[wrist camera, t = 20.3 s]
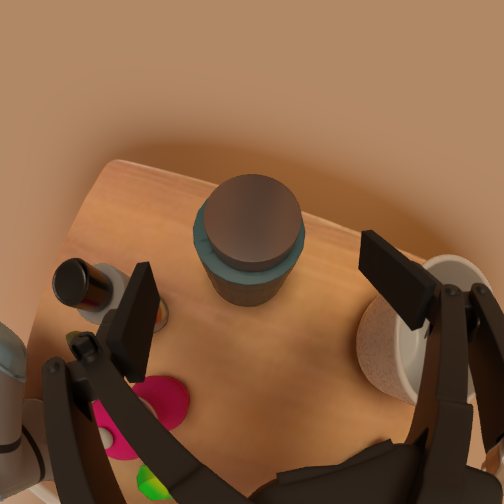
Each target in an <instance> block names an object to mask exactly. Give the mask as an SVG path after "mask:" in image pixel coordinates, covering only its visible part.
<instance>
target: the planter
mask: <svg viewBox="0 0 504 504" xmlns="http://www.w3.org/2000/svg"><path fill="white" fill-rule="evenodd" d="M421 266H423V267H424V268H425V270H427V271H428V272H430V274H432V275H433V276H434V277H435V278H437V279H438V280H439V281H440V282H441V283H442V284H443V285H444V284H453V285H456V286H457V287H459V288H460V289H461V290H462V292H463V291H470V289H471V286H472V284H474V283H483V284H485V285H486V286H487V287H488V288H489V289H490V290H491V292H492V294H493V295H494V293H493V291H492V289H491V287H490V285H489V283H488V281H487V279H486V278H485V276H484V275H483V274H482V272H481V271H480V270H479V269H478V268H477V267H476V266H475V265H474V264H472V263H471V262H470V261H468V260H466V259H464V258H462V257H459V256H456V255H440V256H436V257H434V258H432V259H430V260H428V261H426V262H425V263H423V264H422V265H421ZM429 323H430V322H429V321H428V320H427V319H425V322H424V325H423V327H422V328H420V329H417V330H414V331H411V330H410V328H409V327H408V326H407V325H406V324H405V322H404V321H403V320H402V319H401V317H400V316H399V315H398V314H397V313H396V311H395V310H394V309H393V308H392V307H391V306H390V304H389V303H388V302H387V301H386V300H385V299H384V297H383V296H382V295H381V294H379V295H378V296H377V297H376V298H375V299H374V300H373V301H372V302H371V303H370V305H369V306H368V307H367V309H366V311H365V312H364V314H363V316H362V318H361V321H360V324H359V327H358V331H357V337H356V352H357V358H358V361H359V365H360V367H361V369H362V371H363V373H364V375H365V376H366V378H367V379H368V380H369V381H370V383H371V384H372V385H374V386H375V387H376V388H377V389H378V390H380V391H382V392H383V393H385V394H387V395H390V396H392V397H394V398H396V399H399V400H401V401H403V402H406V403H408V404H410V405H413V406H415V407H416V403H417V398H418V393H419V388H420V383H421V377H422V371H423V364H424V357H425V349H426V340H427V336H426V339H424V336H425V334H426V331H427V328H428V326H429ZM479 324H480V321H479ZM475 396H476V395H475V390H474V385H473V381H472V376H471V372H470V368H469V364H468V396H467V403H469V402H470V401H471V400H472V399H473V398H474V397H475Z"/></svg>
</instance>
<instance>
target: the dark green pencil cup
mask: <svg viewBox="0 0 504 504" xmlns="http://www.w3.org/2000/svg"><path fill="white" fill-rule="evenodd" d="M208 199H209V198H208ZM208 199H207V200H208ZM207 200H206V201H205V202H204V204H203V205H202V207H201V208H200V209H199V211H198V213H197V216H196V220H195V223H194V226H193V236H194V245H195V248H196V250H197V253H198V255H199V258H200V260H201V262H202V264H203V266H204V268H205V270H206V272H207V274H208V276H209V278H210V280H211V282H212V284H213V286H214V288H215V289H216V290H217V292H218V293H219V294H220V295H221V296H222V297H223V298H224V299H226V300H227V301H229V302H230V303H233V304H235V305H239V306H256V305H259V304H262V303H264V302H266V301H268V300H269V299H270V298H272V297H273V296H274V295H275V294H276V293H277V292H278V290H279V289H280V287H281V286H282V284H283V283H284V281H285V279H286V278H287V276H288V275H289V273H290V271H291V270H292V268H293V267H294V265H295V263H296V262H297V260H298V258H299V256H300V254H301V252H302V250H303V246H304V239H305V228H304V223H303V218H302V224H301V229H300V232H299V235H298V237H297V239H296V241H295V243H294V246H293V248H292V249H291V251H290V253H289V254H288V256H287V257H286V258H285V259H284V260H283V261H282V262H281V263H279V264H278V265H276V266H275V267H273V268H271V269H268V270H265V271H261V272H244V271H240V270H236V269H234V268H231V267H230V266H228V265H226V264H225V263H223V262H222V261H221V260H220V259H219V258H218V257H217V256H216V254H215V253H214V252H213V250H212V248H211V246H210V243H209V240H208V237H207V234H206V231H205V227H204V219H203V217H204V209H205V205H206V203H207Z"/></svg>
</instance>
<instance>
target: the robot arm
mask: <svg viewBox="0 0 504 504" xmlns="http://www.w3.org/2000/svg"><path fill="white" fill-rule="evenodd" d="M358 269H359V270H360V271H361V272H362V273H363V275H364V276H365V277H366V278H367V279H368V280H369V281H370V282H371V284H372V285H373V286H374V287H375V288H376V289H377V290H378V292H379V293H380V294H381V295H382V296H383V297H384V299H385V300H386V301H387V302H388V303H389V304H390V306H391V307H392V308H393V309H394V310H395V311H396V313H397V314H398V315H399V316H400V317H401V319H402V320H403V321H404V322H405V324H406V325H407V326H408V327H409V328H410V330H411V331H414V330H417V329H420V328H422V327H423V325H424V322H425V319H427V320H428V321H429V322H430V323H429V326H428V328H427V331H426V334H425V336H424V339H426V336H427V340H426V349H425V357H424V364H423V371H422V377H421V383H420V388H419V393H418V398H417V403H416V407H415V412H414V416H413V420H412V424H411V428H410V431H409V434H408V436H407V438H406V440H405V442H404V443H398V444H393V443H392V441H391V439H388V440H386V441H383V442H381V443H379V444H376V445H374V446H371V447H368V448H366V449H364V450H363V451H361V452H359V453H358V454H356V455H355V456H353V457H352V458H350V459H348V460H347V461H345V462H343V463H342V464H339V465H331V466H313V467H303V468H299V469H295V470H290V471H285V472H280V473H276V476H277V478H276V479H274V480H272V481H269V482H268V483H266V484H264V485H262V486H261V487H259V488H258V489H257V490H256V491H254V492H253V493H252V494H251V495H250V496H249V497H248V498H247V497H245V496H244V495H242V494H241V493H240V492H238V491H237V490H236V489H234V488H233V487H232V486H230V485H229V484H228V483H227V482H225V481H224V480H223V479H222V478H220V477H219V476H218V475H217V474H216V473H214V472H213V471H212V470H211V469H209V468H208V467H207V466H206V465H204V464H202V463H201V462H200V461H199V460H198V459H196V458H195V457H194V456H193V455H192V454H191V453H190V452H189V451H188V450H187V449H186V448H185V447H184V446H183V445H182V444H181V443H180V442H179V441H178V440H177V439H176V438H175V437H174V436H173V435H172V434H171V433H170V432H169V431H168V430H167V429H166V428H165V427H164V426H163V425H162V424H161V423H160V422H159V421H158V419H157V418H156V417H155V416H154V415H153V414H152V413H151V412H150V410H149V409H148V408H147V407H146V406H145V405H144V403H143V402H142V401H141V400H140V399H139V397H138V396H137V395H136V394H135V392H134V391H133V390H132V389H131V387H130V386H129V385H128V384H127V382H126V381H125V380H124V376H125V377H126V378H127V380H128V382H129V383H144V380H145V374H146V369H147V363H148V358H149V352H150V347H151V342H152V337H153V332H154V327H155V323H156V318H157V313H158V309H159V305H160V300H161V299H160V296H159V293H158V290H157V287H156V283H155V280H154V277H153V273H152V270H151V266H150V263H149V262H142V263H137V265H136V267H135V269H134V271H133V273H132V276H131V278H130V280H129V282H128V285H127V287H126V289H125V291H124V294H123V296H122V298H121V301H120V303H119V306H118V308H116V309H110V310H109V311H108V312H107V313H106V314H105V315H104V317H103V320H102V322H101V323H102V324H100V327H99V329H98V331H97V334H96V336H95V335H94V334H93V333H92V332H88V331H87V332H82V333H80V334H78V335H76V336H75V337H74V338H73V339H72V340H71V342H70V345H69V347H70V350H71V352H72V353H73V355H74V356H75V358H76V359H77V360H76V361H73V362H69V363H65V362H64V360H63V359H62V358H61V357H52V358H50V359H49V360H47V361H46V362H45V364H44V365H43V367H42V398H43V400H42V399H39V398H30V399H25V400H23V394H24V384H25V383H26V381H27V378H26V366H27V350H26V347H25V345H24V343H23V342H22V340H21V339H20V338H19V337H18V336H17V335H16V334H15V333H14V332H13V331H12V330H10V329H9V328H8V327H6V326H5V325H4V324H3V323H1V322H0V501H3V500H4V499H6V498H8V497H10V496H12V495H14V494H17V493H18V492H21V491H23V490H25V489H27V488H29V487H31V486H33V485H35V484H37V483H39V482H41V481H49V480H55V484H56V488H57V492H58V496H59V499H60V502H61V504H127V503H126V501H125V499H124V497H123V494H122V492H121V490H120V488H119V485H118V483H117V481H116V478H115V476H114V473H113V470H112V468H111V465H110V462H109V460H108V457H107V454H106V451H105V448H104V445H103V442H102V439H101V435H100V432H99V429H98V425H97V422H96V418H95V414H94V410H93V406H92V402H91V401H95V400H100V402H101V404H102V405H103V407H104V408H105V410H106V412H107V413H108V415H109V416H110V418H111V419H112V421H113V422H114V424H115V425H116V427H117V428H118V430H119V431H120V432H121V434H122V435H123V437H124V438H125V439H126V441H127V442H128V443H129V445H130V446H131V447H132V449H133V450H134V451H135V452H136V454H137V455H138V456H139V458H140V459H141V460H142V461H143V462H144V464H145V465H146V466H147V467H148V468H149V470H150V471H151V472H152V473H153V474H154V475H155V476H156V478H157V479H158V480H159V481H160V482H161V483H162V484H163V485H164V486H165V487H166V489H167V490H168V493H169V494H170V495H171V496H172V497H173V498H174V500H175V501H176V502H177V503H178V504H502V500H503V495H504V314H503V312H502V310H501V308H500V306H499V304H498V303H497V301H496V299H495V297H494V295H493V294H492V292H491V290H490V289H489V288H488V287H487V286H486V285H485V284H483V283H474V284H472V286H471V289H470V291H463V292H462V290H461V289H460V288H459V287H457V286H456V285H453V284H444V285H443V284H442V283H441V282H440V281H439V280H438V279H437V278H435V277H434V276H433V275H432V274H430V272H428V271H427V270H425V268H424V267H423V266H421V265H420V264H418V263H416V262H414V261H410V260H409V259H408V258H407V257H405V256H404V255H403V254H402V253H401V252H399V251H398V250H397V249H396V248H394V247H393V246H392V245H391V244H389V243H388V242H387V241H386V240H384V239H383V238H382V237H380V236H379V235H378V234H376V233H375V232H374V231H373V230H367V231H362V234H361V247H360V257H359V267H358ZM479 321H480V324H479ZM468 364H469V368H470V372H471V376H472V381H473V385H474V390H475V395H476V400H477V405H478V411H479V417H480V424H481V433H482V439H483V444H484V448H485V453H486V460H485V461H484V462H483V463H482V467H481V470H479V469H476V468H473V467H470V466H467V465H466V463H467V458H468V452H469V446H470V439H471V431H472V421H473V406H472V404H468V403H467V396H468Z"/></svg>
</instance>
